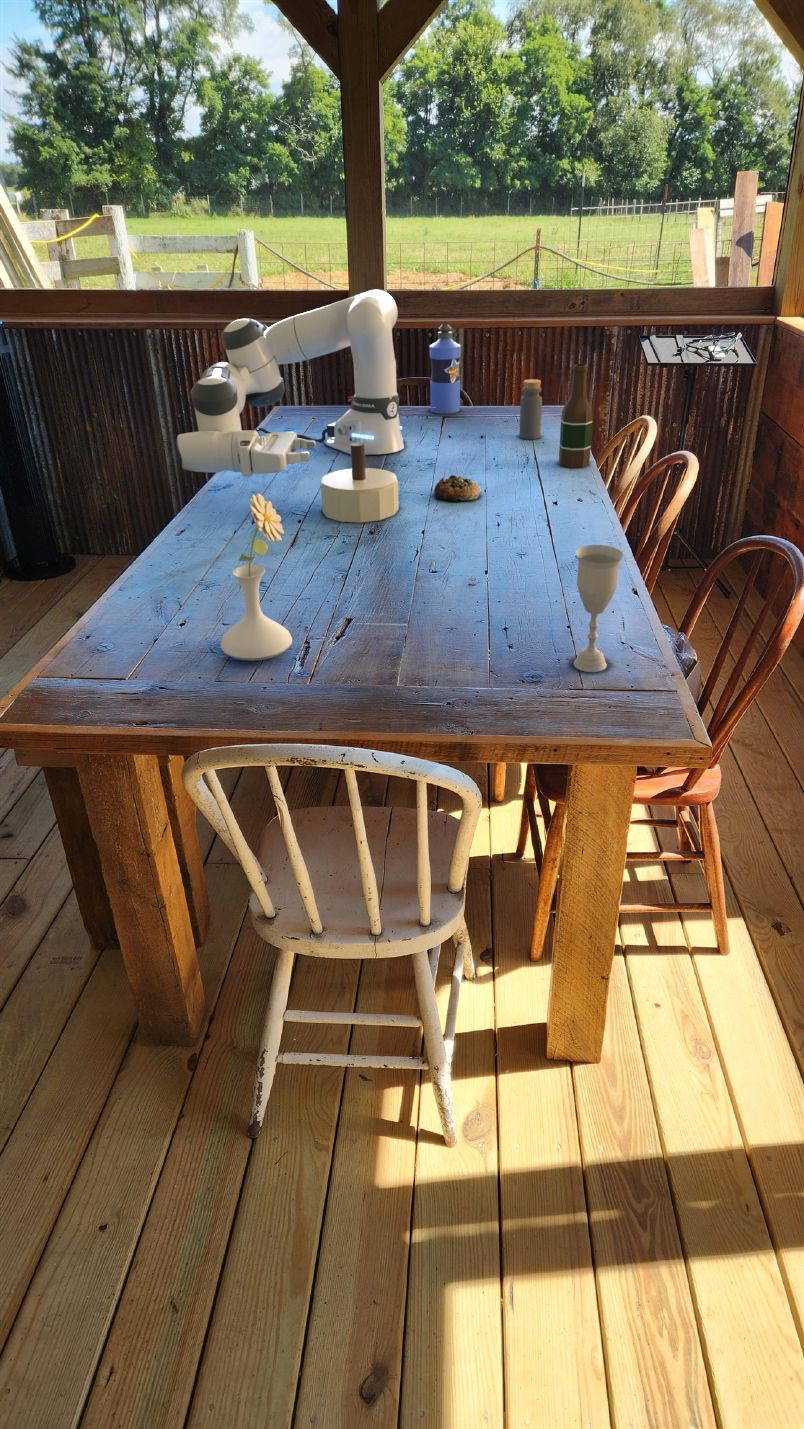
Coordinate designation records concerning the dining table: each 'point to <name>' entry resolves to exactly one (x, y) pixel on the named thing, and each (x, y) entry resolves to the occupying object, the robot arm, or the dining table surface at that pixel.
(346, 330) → the robot arm
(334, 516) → the lid
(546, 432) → the dining table surface
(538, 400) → the bottle
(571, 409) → the beer bottle
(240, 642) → the flower in vase
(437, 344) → the water bottle
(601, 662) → the chalice
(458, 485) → the bread roll
